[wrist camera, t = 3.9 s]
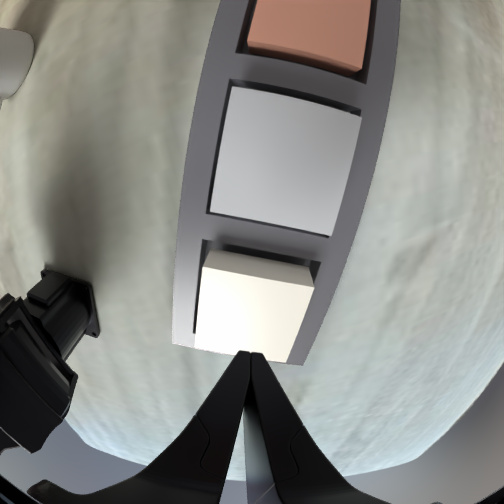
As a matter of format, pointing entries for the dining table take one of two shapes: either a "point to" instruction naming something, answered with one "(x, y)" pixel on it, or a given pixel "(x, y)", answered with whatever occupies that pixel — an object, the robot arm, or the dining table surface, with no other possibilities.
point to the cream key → (251, 304)
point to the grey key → (284, 160)
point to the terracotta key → (312, 32)
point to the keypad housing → (208, 147)
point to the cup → (14, 60)
